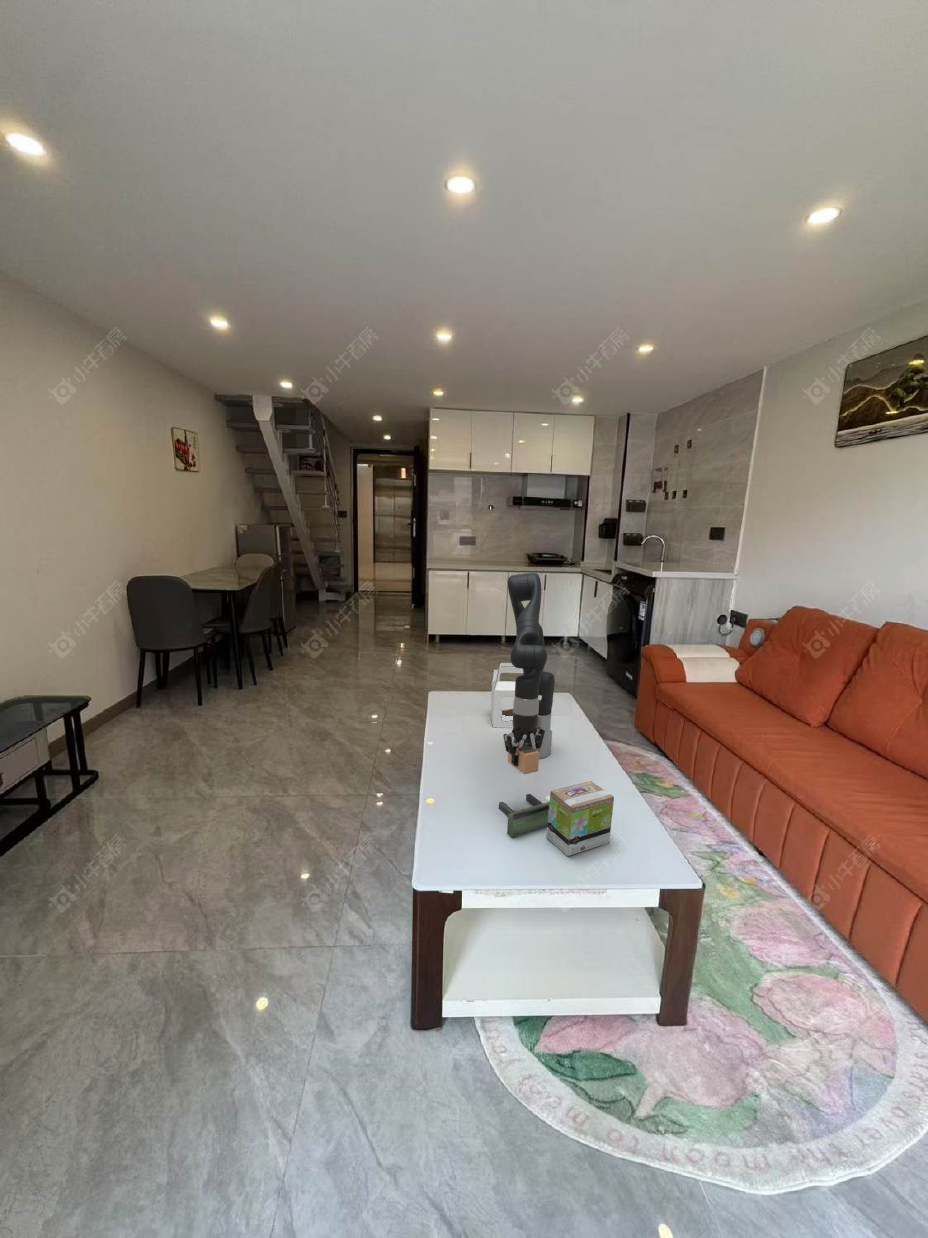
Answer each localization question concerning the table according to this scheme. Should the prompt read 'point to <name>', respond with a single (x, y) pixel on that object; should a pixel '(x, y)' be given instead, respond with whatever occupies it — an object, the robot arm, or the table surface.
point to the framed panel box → (526, 759)
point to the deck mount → (526, 817)
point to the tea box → (579, 817)
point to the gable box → (503, 695)
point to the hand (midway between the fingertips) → (522, 763)
